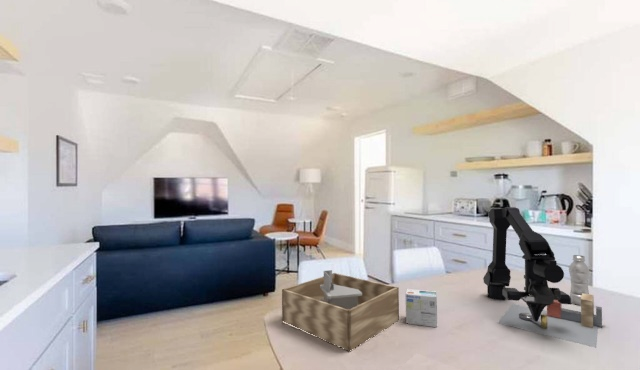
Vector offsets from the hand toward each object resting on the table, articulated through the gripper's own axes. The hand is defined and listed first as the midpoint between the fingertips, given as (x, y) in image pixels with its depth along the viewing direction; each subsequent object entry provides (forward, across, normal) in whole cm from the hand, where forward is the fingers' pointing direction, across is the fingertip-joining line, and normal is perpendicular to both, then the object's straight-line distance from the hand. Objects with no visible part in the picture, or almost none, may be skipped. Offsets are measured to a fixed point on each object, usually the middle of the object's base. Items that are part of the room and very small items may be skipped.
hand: (535, 321), depth 106 cm
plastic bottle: (+2, +27, +28) cm, 39 cm away
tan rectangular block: (+2, +19, +7) cm, 20 cm away
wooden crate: (+4, -66, -7) cm, 66 cm away
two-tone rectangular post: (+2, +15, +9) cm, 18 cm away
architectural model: (+4, -66, -8) cm, 66 cm away
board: (+3, +6, +5) cm, 8 cm away
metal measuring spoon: (+2, +1, +4) cm, 5 cm away
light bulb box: (+4, -37, -1) cm, 37 cm away
